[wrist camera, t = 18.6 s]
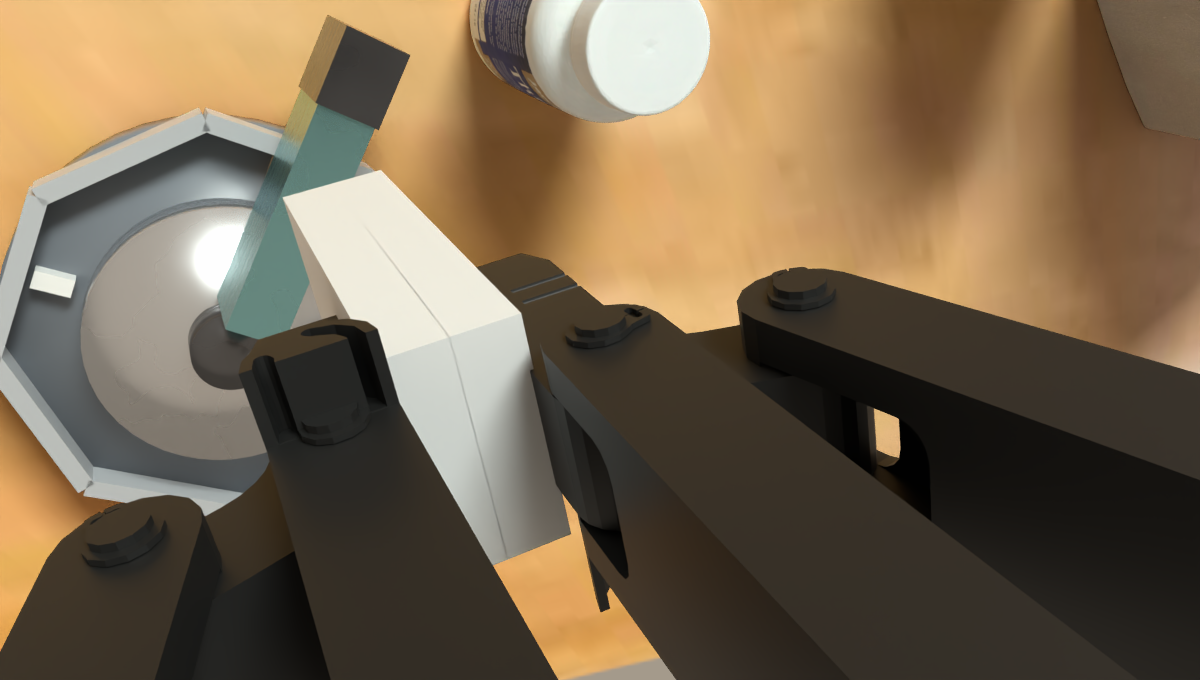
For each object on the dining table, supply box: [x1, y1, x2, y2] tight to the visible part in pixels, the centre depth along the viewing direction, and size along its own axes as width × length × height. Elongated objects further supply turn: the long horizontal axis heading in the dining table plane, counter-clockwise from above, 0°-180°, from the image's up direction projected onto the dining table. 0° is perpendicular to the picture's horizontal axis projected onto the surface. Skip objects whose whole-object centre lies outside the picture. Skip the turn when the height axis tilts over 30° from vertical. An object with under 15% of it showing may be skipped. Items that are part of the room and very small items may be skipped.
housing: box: [0, 107, 375, 516], centre depth 37 cm, size 14×14×2 cm
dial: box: [80, 15, 410, 460], centre depth 34 cm, size 16×9×5 cm, turn 154°
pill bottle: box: [470, 0, 710, 123], centre depth 35 cm, size 5×5×10 cm
